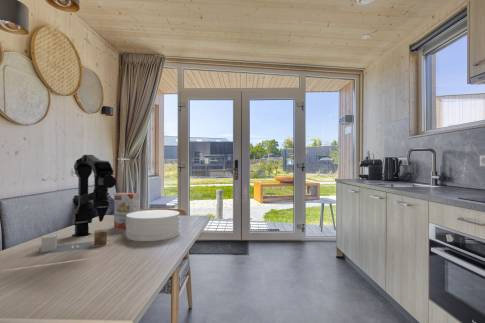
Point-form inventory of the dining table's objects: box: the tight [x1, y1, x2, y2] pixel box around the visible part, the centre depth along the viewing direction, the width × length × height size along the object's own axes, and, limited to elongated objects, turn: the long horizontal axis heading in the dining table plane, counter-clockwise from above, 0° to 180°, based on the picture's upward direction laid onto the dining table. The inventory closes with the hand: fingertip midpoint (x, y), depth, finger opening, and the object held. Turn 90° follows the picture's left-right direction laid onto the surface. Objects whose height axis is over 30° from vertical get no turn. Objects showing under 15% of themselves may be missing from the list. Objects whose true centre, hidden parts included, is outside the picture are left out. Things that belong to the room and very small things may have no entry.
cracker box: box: [113, 192, 140, 229], centre depth 168 cm, size 14×6×21 cm, turn 73°
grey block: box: [40, 233, 58, 252], centre depth 120 cm, size 5×5×6 cm
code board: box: [35, 239, 111, 256], centre depth 124 cm, size 28×12×1 cm, turn 119°
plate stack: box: [125, 209, 181, 242], centre depth 151 cm, size 28×28×12 cm
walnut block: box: [93, 228, 108, 246], centre depth 129 cm, size 5×5×6 cm
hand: (100, 219), depth 130 cm, fingers open, 9 cm apart
